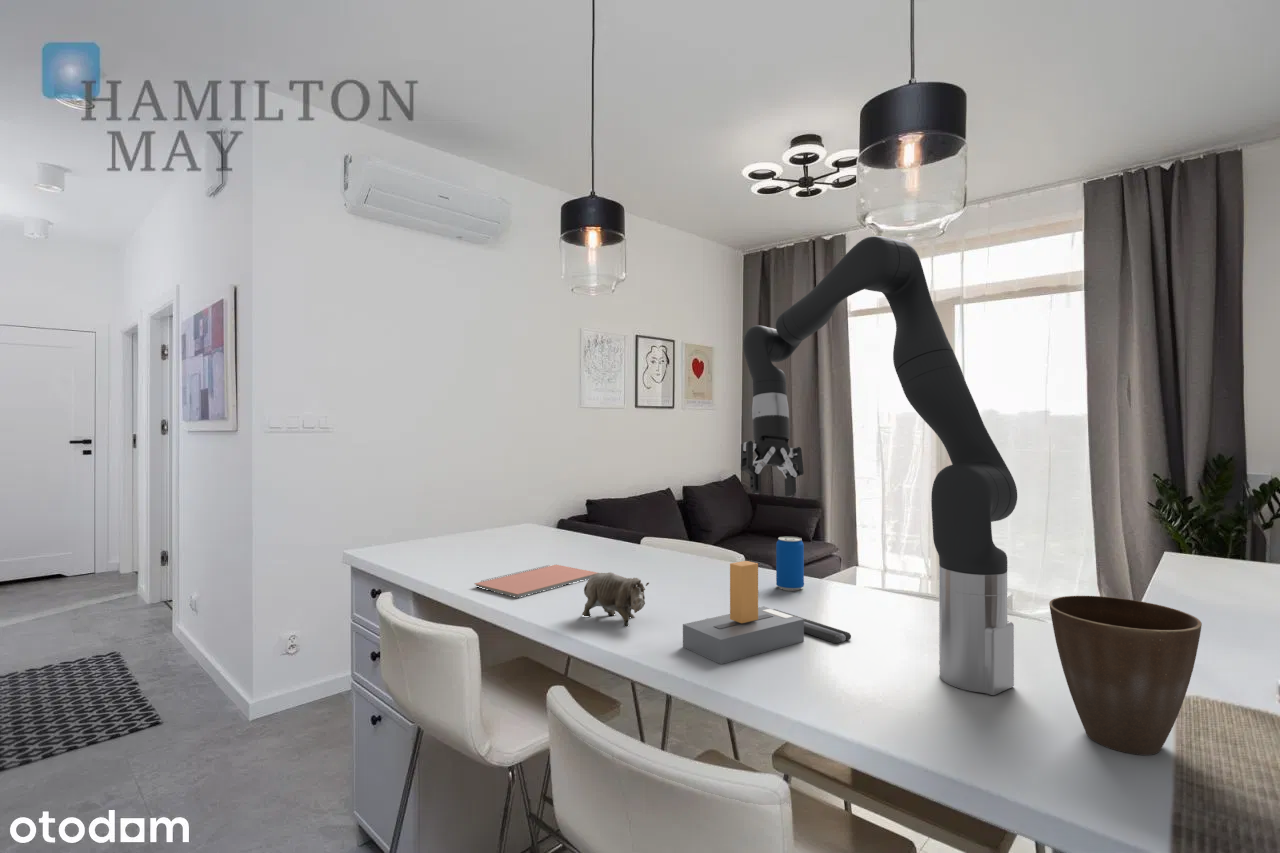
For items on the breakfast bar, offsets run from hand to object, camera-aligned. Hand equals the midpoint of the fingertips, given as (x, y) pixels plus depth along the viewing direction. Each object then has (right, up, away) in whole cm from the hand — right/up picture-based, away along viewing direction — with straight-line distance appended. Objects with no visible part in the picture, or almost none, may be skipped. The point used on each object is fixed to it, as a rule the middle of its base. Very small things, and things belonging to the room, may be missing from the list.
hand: (773, 494), depth 129 cm
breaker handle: (-9, -21, -16) cm, 27 cm away
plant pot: (+32, -25, -51) cm, 65 cm away
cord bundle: (+2, -25, -9) cm, 27 cm away
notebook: (-53, -26, +30) cm, 66 cm away
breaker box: (-9, -25, -16) cm, 31 cm away
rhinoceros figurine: (-31, -25, -2) cm, 40 cm away
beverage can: (+9, -25, +24) cm, 36 cm away
